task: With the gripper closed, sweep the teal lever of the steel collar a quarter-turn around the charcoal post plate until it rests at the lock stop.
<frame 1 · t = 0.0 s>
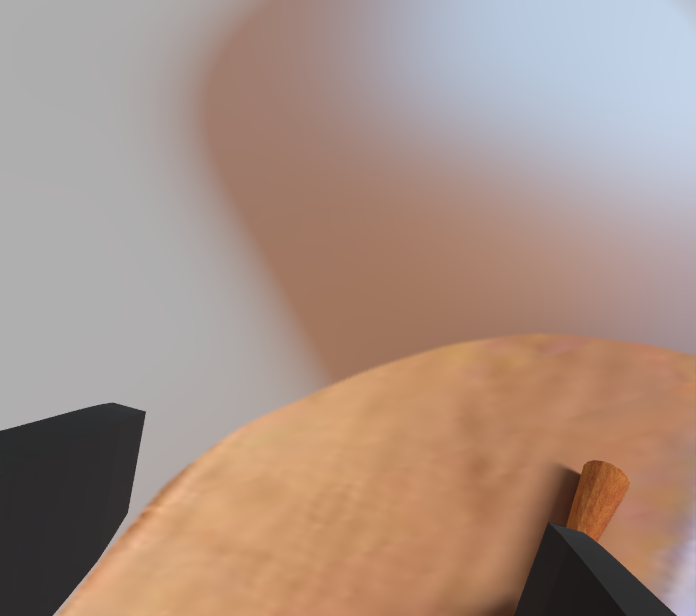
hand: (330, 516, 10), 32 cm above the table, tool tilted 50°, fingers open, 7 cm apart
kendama: (541, 598, 41), on the table
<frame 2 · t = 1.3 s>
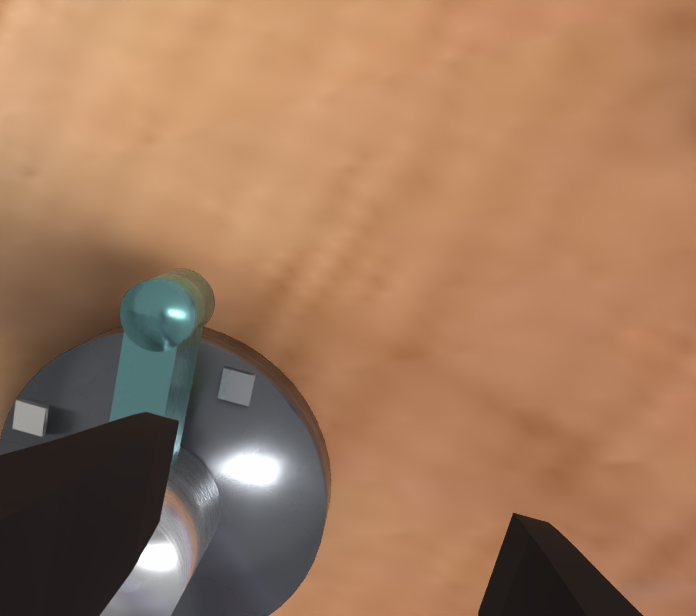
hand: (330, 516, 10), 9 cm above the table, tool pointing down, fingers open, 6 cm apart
lock collar: (144, 447, 17), point 4 cm above the table, hinge at 0.0°
post plate: (174, 474, 21), on the table
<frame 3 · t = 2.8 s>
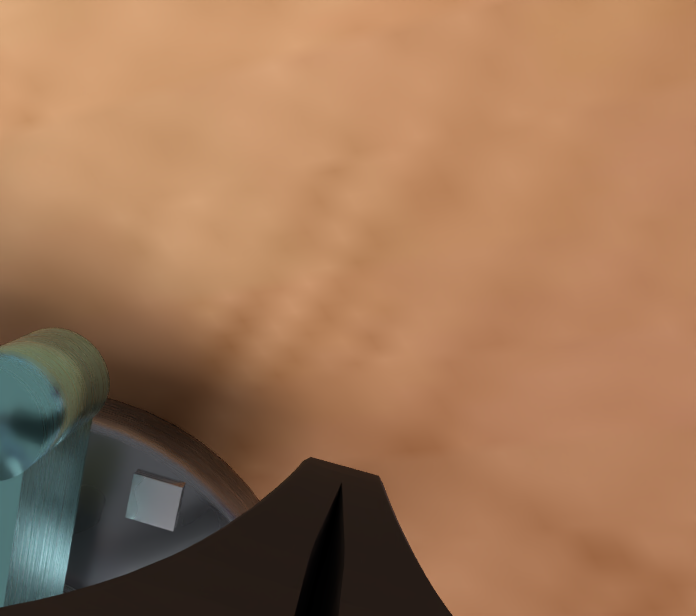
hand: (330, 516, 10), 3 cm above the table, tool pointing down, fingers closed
post plate: (78, 604, 15), on the table
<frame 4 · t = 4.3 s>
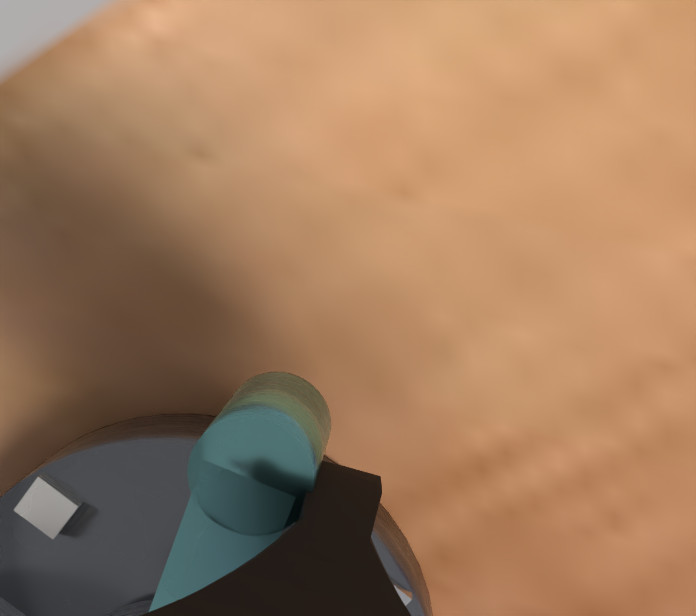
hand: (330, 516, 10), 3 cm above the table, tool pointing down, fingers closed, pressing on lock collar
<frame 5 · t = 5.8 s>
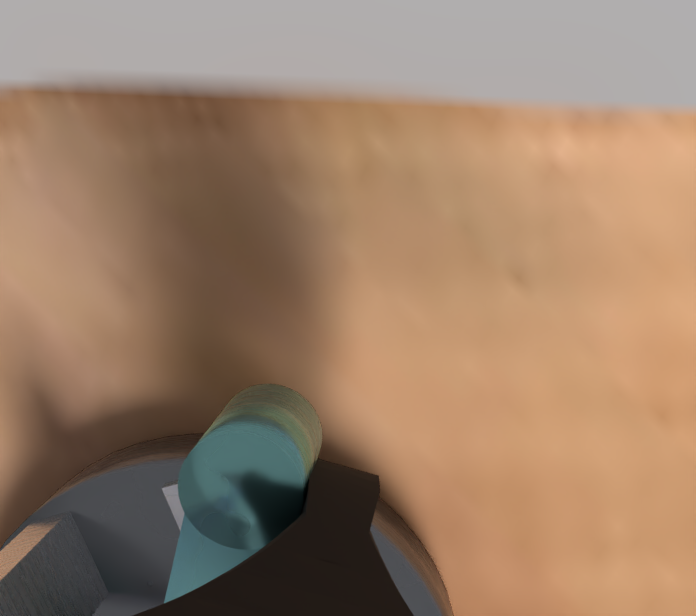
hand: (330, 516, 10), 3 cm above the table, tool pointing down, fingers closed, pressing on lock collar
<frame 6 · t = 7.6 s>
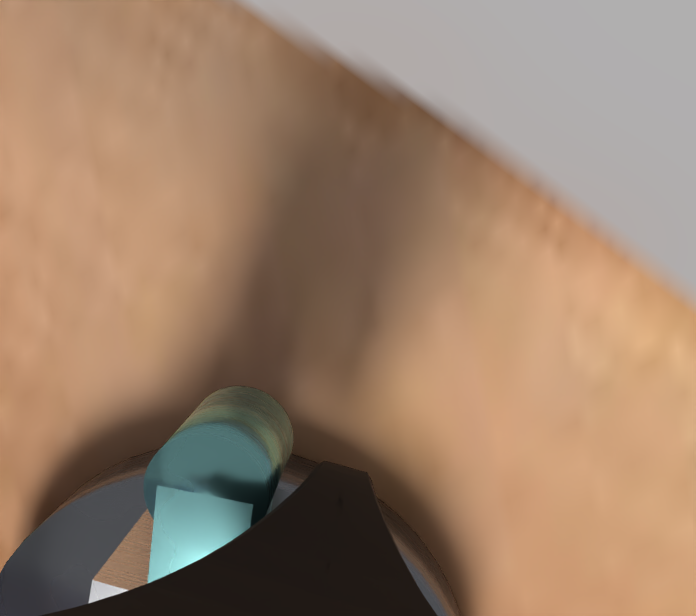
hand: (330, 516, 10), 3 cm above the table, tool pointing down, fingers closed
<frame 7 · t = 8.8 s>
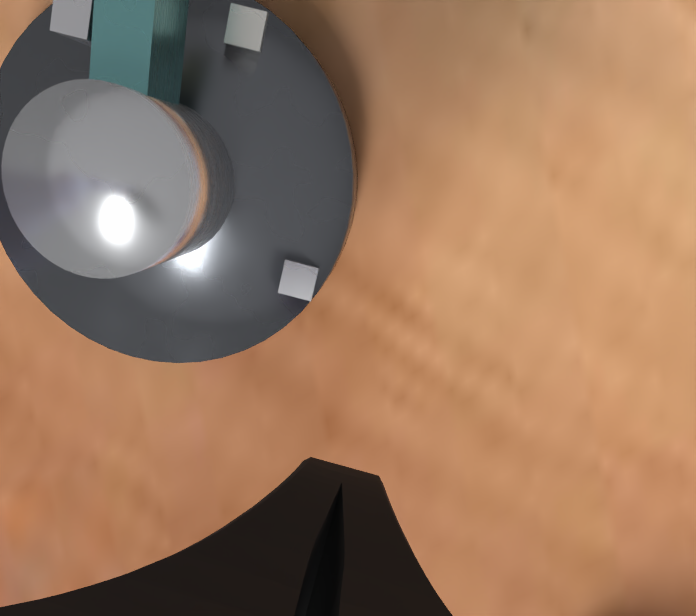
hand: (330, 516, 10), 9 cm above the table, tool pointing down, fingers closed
lock collar: (139, 63, 15), point 4 cm above the table, hinge at 94.5°
post plate: (181, 179, 19), on the table
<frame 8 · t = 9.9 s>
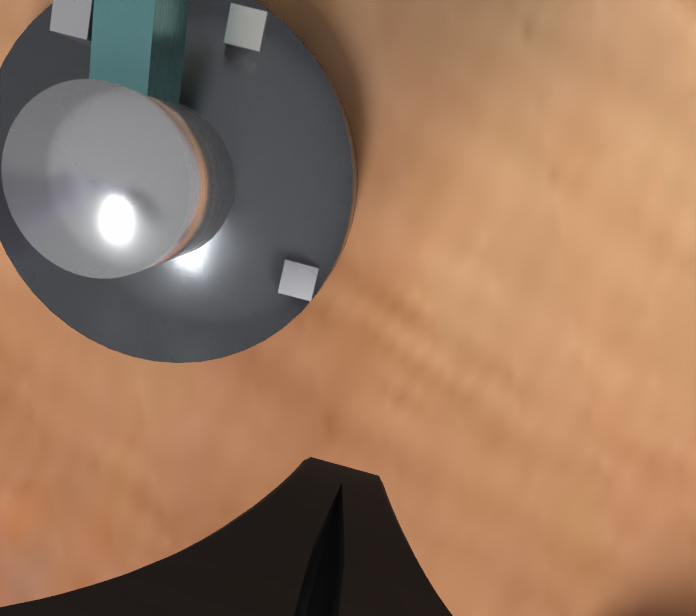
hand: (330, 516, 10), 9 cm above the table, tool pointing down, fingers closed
lock collar: (139, 63, 15), point 4 cm above the table, hinge at 94.5°
post plate: (181, 179, 19), on the table
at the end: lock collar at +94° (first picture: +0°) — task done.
